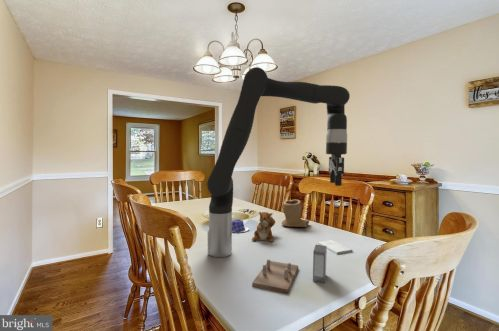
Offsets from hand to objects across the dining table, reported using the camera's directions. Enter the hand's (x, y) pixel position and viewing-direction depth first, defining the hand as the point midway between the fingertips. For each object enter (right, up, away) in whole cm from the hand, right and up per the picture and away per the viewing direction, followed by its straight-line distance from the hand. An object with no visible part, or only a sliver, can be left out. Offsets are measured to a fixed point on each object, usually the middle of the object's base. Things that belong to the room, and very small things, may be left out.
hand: (335, 184), depth 96 cm
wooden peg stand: (-24, -30, -13) cm, 40 cm away
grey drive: (-10, -30, -14) cm, 34 cm away
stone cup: (-7, -27, +44) cm, 53 cm away
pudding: (-39, -28, +38) cm, 61 cm away
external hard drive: (+4, -30, +13) cm, 33 cm away
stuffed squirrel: (-26, -28, +25) cm, 46 cm away
